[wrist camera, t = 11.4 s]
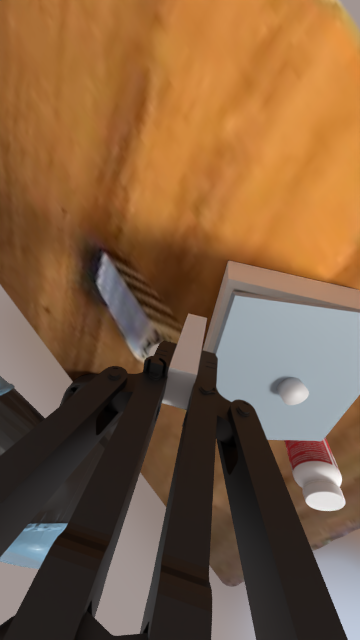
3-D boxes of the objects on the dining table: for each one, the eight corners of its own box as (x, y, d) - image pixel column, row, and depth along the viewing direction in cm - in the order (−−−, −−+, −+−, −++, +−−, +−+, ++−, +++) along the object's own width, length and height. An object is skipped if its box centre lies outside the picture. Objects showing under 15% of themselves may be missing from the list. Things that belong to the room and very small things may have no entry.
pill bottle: (273, 426, 40) (288, 497, 30) (303, 410, 37) (329, 482, 27) (298, 444, 41) (320, 519, 31) (329, 429, 38) (363, 507, 28)
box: (200, 358, 36) (193, 395, 29) (228, 260, 28) (228, 278, 21) (300, 384, 35) (318, 430, 28) (358, 289, 27) (404, 319, 20)
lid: (188, 430, 25) (190, 448, 23) (232, 291, 17) (240, 302, 15) (317, 434, 28) (328, 451, 26) (410, 316, 20) (434, 328, 18)
